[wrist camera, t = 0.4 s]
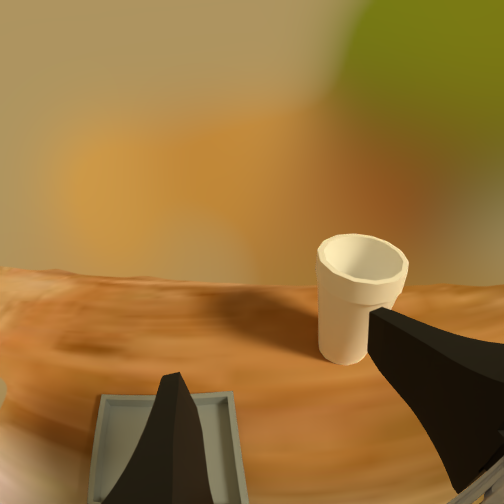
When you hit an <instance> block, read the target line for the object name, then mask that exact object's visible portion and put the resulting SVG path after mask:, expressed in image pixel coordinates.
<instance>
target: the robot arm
mask: <svg viewBox="0 0 504 504" xmlns="http://www.w3.org/2000/svg"><path fill="white" fill-rule="evenodd" d="M367 352H368V354H369V355H370V357H371V358H372V360H373V362H374V363H375V365H376V366H377V368H378V369H379V371H380V372H381V373H382V375H383V376H384V377H385V378H386V379H387V381H388V382H389V383H390V384H391V385H392V387H393V388H394V389H395V390H396V391H397V392H398V394H399V395H400V396H401V397H402V398H403V399H404V401H405V402H406V403H407V404H408V405H409V407H410V408H411V409H412V411H413V412H414V413H415V415H416V416H417V418H418V419H419V421H420V422H421V424H422V425H423V427H424V429H425V430H426V432H427V434H428V435H429V437H430V439H431V441H432V442H433V444H434V446H435V448H436V450H437V452H438V454H439V456H440V458H441V460H442V462H443V464H444V466H445V469H446V471H447V473H448V476H449V478H450V481H451V484H452V486H453V488H454V490H455V491H456V492H457V494H459V493H460V494H459V495H458V496H456V497H455V498H454V499H452V500H451V501H450V502H448V503H447V504H472V503H473V502H474V501H475V500H476V499H478V498H479V497H480V496H481V495H482V494H483V493H485V494H484V500H483V501H482V502H481V503H480V504H504V344H501V343H493V342H486V341H481V340H476V339H472V338H467V337H463V336H460V335H456V334H453V333H450V332H447V331H444V330H441V329H438V328H435V327H432V326H430V325H427V324H425V323H422V322H420V321H417V320H415V319H412V318H410V317H407V316H405V315H402V314H400V313H398V312H395V311H393V310H390V309H387V308H384V307H380V308H378V309H375V310H373V311H370V312H369V327H368V344H367ZM486 471H487V472H486ZM485 472H486V473H485ZM484 473H485V474H484ZM481 475H482V476H481ZM480 476H481V477H480ZM479 477H480V478H479ZM478 478H479V479H478ZM477 479H478V480H477ZM474 481H475V482H474ZM473 482H474V483H473ZM472 483H473V484H472ZM471 484H472V485H471ZM469 485H470V486H469ZM468 486H469V487H468ZM467 487H468V488H467ZM466 488H467V489H466ZM464 489H465V490H464ZM463 490H464V491H463ZM462 491H463V492H462ZM461 492H462V493H461ZM101 504H214V502H213V498H212V494H211V490H210V485H209V479H208V472H207V464H206V456H205V448H204V440H203V431H202V427H201V422H200V418H199V414H198V410H197V406H196V404H195V402H194V400H193V399H192V397H191V395H190V393H189V390H188V388H187V386H186V384H185V382H184V380H183V378H182V376H181V374H180V372H177V373H173V374H168V375H164V376H163V377H162V378H161V381H160V385H159V388H158V391H157V394H156V398H155V400H154V403H153V406H152V409H151V412H150V415H149V417H148V420H147V423H146V425H145V428H144V430H143V432H142V435H141V437H140V439H139V442H138V444H137V446H136V448H135V450H134V452H133V454H132V456H131V458H130V460H129V462H128V464H127V466H126V467H125V469H124V471H123V473H122V474H121V476H120V477H119V479H118V481H117V482H116V484H115V485H114V487H113V488H112V490H111V491H110V493H109V494H108V495H107V497H106V498H105V499H104V500H103V502H102V503H101Z"/></svg>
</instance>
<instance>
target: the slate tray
mask: <svg viewBox="0 0 504 504" xmlns="http://www.w3.org/2000/svg"><path fill="white" fill-rule="evenodd" d="M190 395H191V397H192V399H193V400H194V402H195V404H196V406H197V410H198V414H199V418H200V422H201V427H202V431H203V440H204V448H205V456H206V464H207V472H208V479H209V485H210V490H211V494H212V498H213V502H214V504H249V500H248V494H247V487H246V481H245V475H244V468H243V461H242V455H241V448H240V441H239V434H238V426H237V419H236V411H235V404H234V396H233V391H226V392H214V393H200V394H190ZM155 398H156V395H104V394H102V396H101V401H100V406H99V412H98V418H97V423H96V430H95V436H94V443H93V450H92V458H91V466H90V475H89V486H88V498H87V504H101V503H102V502H103V500H104V499H105V498H106V497H107V495H108V494H109V493H110V491H111V490H112V488H113V487H114V485H115V484H116V482H117V481H118V479H119V477H120V476H121V474H122V473H123V471H124V469H125V467H126V466H127V464H128V462H129V460H130V458H131V456H132V454H133V452H134V450H135V448H136V446H137V444H138V442H139V439H140V437H141V435H142V432H143V430H144V428H145V425H146V423H147V420H148V417H149V415H150V412H151V409H152V406H153V403H154V400H155Z"/></svg>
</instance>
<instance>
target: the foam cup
mask: <svg viewBox="0 0 504 504" xmlns="http://www.w3.org/2000/svg"><path fill="white" fill-rule="evenodd" d="M408 265H409V262H408V260H407V258H406V257H405V255H404V254H403V253H402V251H401V250H399V249H398V248H396V247H395V246H394V245H392V244H391V243H389V242H387V241H384V240H381V239H378V238H376V237H373V236H367V235H359V234H345V235H336V236H334V237H331V238H329V239H327V240H324V241H323V243H322V244H321V245H320V247H319V248H318V251H317V260H316V269H315V270H316V274H317V280H318V344H319V351H320V352H321V353H322V355H323V356H324V357H325V358H326V359H328V360H329V361H331V362H333V363H335V364H341V365H350V364H354V363H358V362H359V361H360V360H362V359H363V358H364V357H365V355H366V354H367V344H368V327H369V312H370V311H373V310H375V309H378V308H380V307H384V308H387V309H390V310H391V308H392V306H393V304H394V302H395V300H396V298H397V296H398V295H399V294H400V293H401V292H402V289H403V286H404V283H405V279H406V276H407V272H408Z"/></svg>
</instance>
